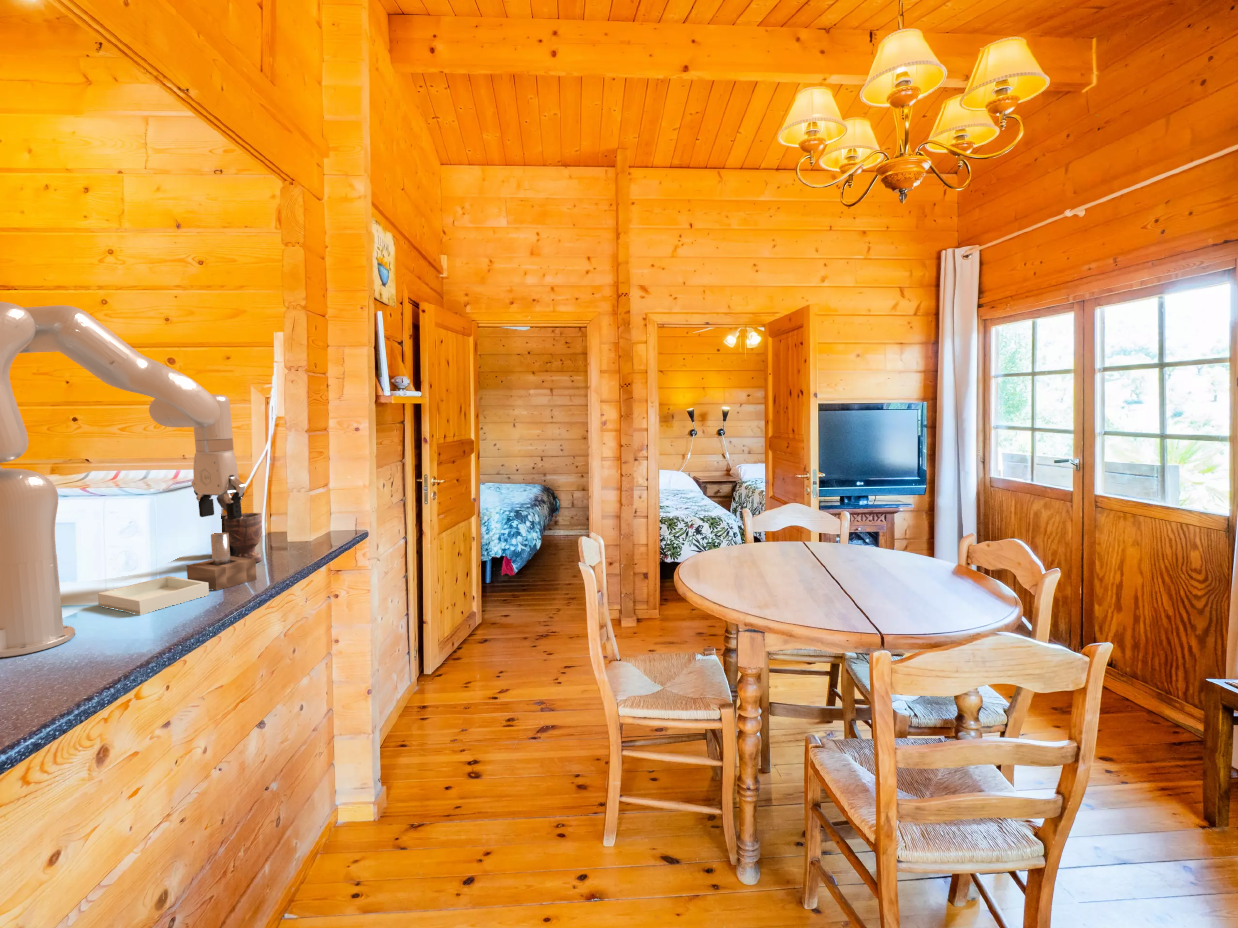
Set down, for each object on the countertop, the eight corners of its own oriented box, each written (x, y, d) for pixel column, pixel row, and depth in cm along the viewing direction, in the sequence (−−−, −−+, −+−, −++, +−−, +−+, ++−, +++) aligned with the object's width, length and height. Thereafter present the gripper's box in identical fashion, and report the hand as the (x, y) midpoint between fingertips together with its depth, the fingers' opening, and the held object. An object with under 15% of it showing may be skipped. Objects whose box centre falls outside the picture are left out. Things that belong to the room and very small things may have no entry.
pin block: (216, 590, 139) (215, 569, 138) (187, 585, 142) (186, 565, 142) (256, 579, 148) (255, 559, 148) (228, 575, 152) (227, 555, 151)
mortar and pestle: (252, 568, 158) (247, 493, 156) (215, 570, 156) (211, 494, 154) (268, 557, 169) (264, 487, 167) (235, 559, 167) (230, 488, 166)
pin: (220, 585, 143) (217, 536, 142) (210, 583, 144) (207, 534, 143) (235, 581, 146) (232, 533, 145) (225, 579, 148) (222, 531, 146)
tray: (140, 615, 122) (139, 601, 122) (99, 606, 128) (97, 593, 127) (209, 595, 135) (208, 582, 135) (169, 588, 140) (168, 576, 140)
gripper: (174, 447, 142) (180, 517, 144) (224, 449, 136) (230, 523, 138) (206, 444, 149) (212, 512, 151) (254, 446, 143) (260, 516, 145)
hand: (220, 517), depth 144 cm, fingers open, 9 cm apart
